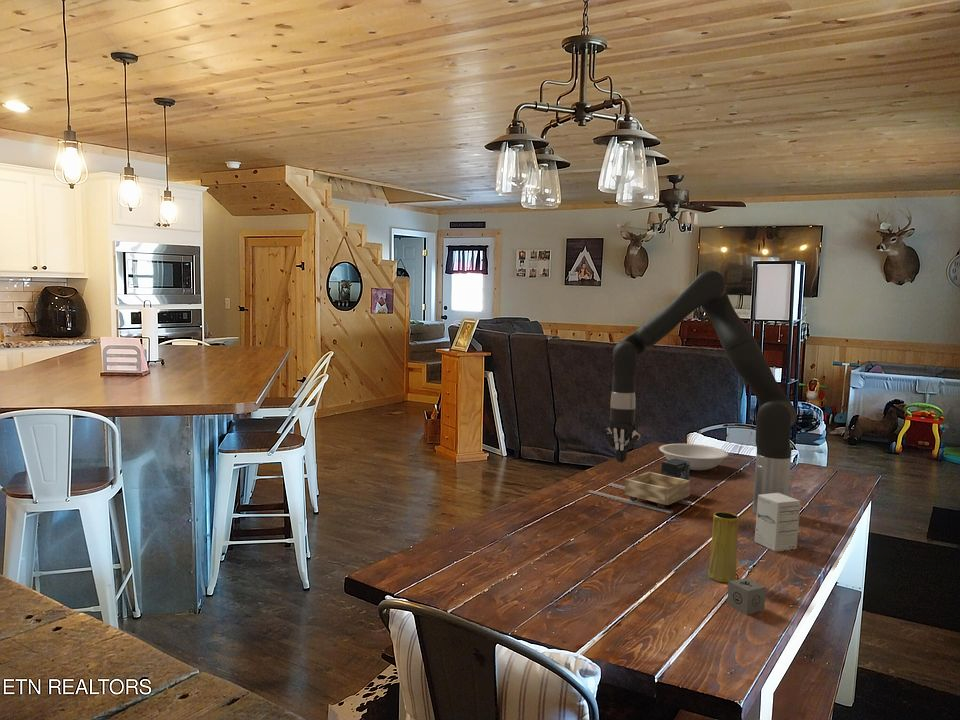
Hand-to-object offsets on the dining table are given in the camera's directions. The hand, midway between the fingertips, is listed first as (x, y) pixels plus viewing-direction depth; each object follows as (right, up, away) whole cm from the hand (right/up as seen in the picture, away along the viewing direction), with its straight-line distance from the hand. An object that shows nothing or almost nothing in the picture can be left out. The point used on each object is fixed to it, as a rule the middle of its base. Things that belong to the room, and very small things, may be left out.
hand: (620, 461), depth 224 cm
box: (+17, -11, +3) cm, 21 cm away
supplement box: (+31, -16, -41) cm, 54 cm away
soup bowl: (+33, -8, +37) cm, 50 cm away
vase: (+10, -17, -63) cm, 66 cm away
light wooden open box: (+9, -11, -7) cm, 16 cm away
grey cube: (+10, -19, -78) cm, 81 cm away
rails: (+5, -11, -3) cm, 12 cm away
